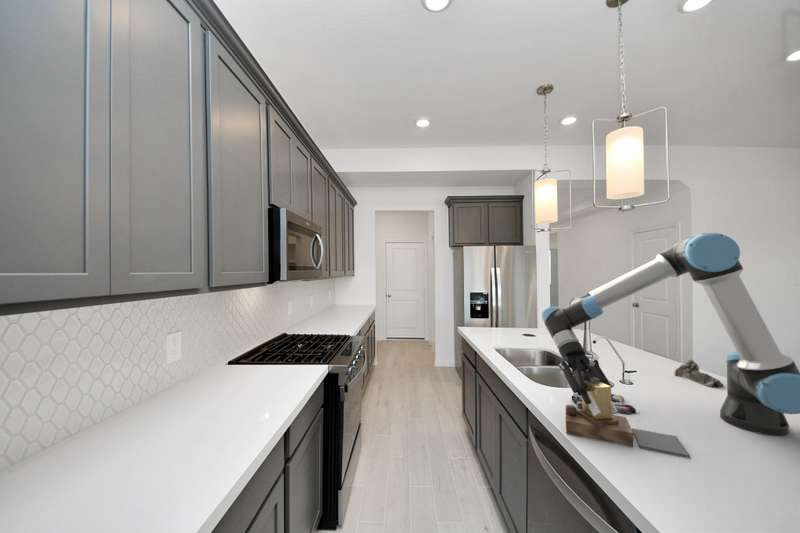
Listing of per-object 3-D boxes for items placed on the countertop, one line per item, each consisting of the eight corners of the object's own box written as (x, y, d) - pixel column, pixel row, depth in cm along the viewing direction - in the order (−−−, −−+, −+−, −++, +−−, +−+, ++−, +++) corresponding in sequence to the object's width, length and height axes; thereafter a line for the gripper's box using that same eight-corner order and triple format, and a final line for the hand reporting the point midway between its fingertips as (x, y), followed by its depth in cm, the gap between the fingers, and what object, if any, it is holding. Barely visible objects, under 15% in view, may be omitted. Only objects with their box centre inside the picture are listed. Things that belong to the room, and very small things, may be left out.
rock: (668, 372, 155) (677, 353, 154) (689, 380, 155) (698, 362, 154) (701, 388, 137) (711, 367, 136) (725, 398, 137) (735, 377, 136)
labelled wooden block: (596, 413, 104) (596, 376, 104) (611, 422, 98) (611, 382, 98) (582, 415, 103) (582, 377, 103) (596, 424, 97) (596, 383, 97)
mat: (676, 438, 96) (676, 436, 96) (690, 458, 86) (690, 455, 86) (631, 430, 101) (631, 428, 101) (639, 448, 91) (639, 445, 91)
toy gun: (620, 400, 126) (641, 418, 111) (566, 394, 130) (579, 411, 115) (620, 393, 126) (641, 410, 111) (566, 388, 130) (579, 404, 115)
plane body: (625, 429, 102) (625, 408, 102) (633, 447, 91) (633, 424, 91) (565, 418, 109) (565, 399, 109) (566, 433, 99) (566, 412, 99)
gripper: (586, 350, 117) (624, 416, 101) (540, 352, 114) (572, 420, 98) (597, 339, 112) (639, 406, 95) (549, 341, 109) (585, 410, 93)
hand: (605, 413), depth 97 cm, fingers closed on labelled wooden block, 5 cm apart
